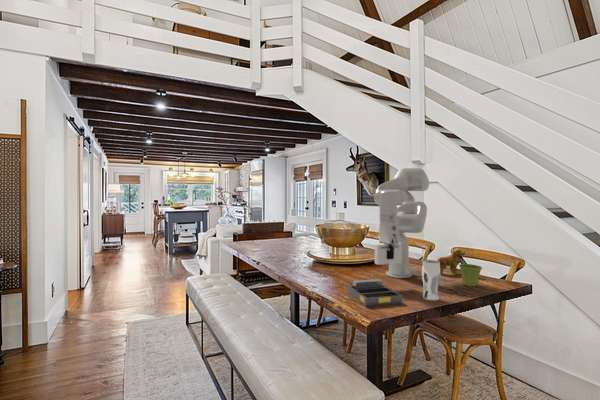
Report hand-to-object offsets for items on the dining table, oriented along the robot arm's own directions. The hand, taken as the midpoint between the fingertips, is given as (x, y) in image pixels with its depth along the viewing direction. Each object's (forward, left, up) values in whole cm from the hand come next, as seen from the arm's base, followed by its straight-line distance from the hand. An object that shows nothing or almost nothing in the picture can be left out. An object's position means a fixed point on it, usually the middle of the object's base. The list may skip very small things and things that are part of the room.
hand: (388, 257), depth 150 cm
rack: (+15, +15, -13) cm, 24 cm away
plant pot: (-37, +9, -13) cm, 40 cm away
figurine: (-42, -11, -13) cm, 46 cm away
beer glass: (-7, +21, -13) cm, 25 cm away
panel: (0, 0, -3) cm, 3 cm away
